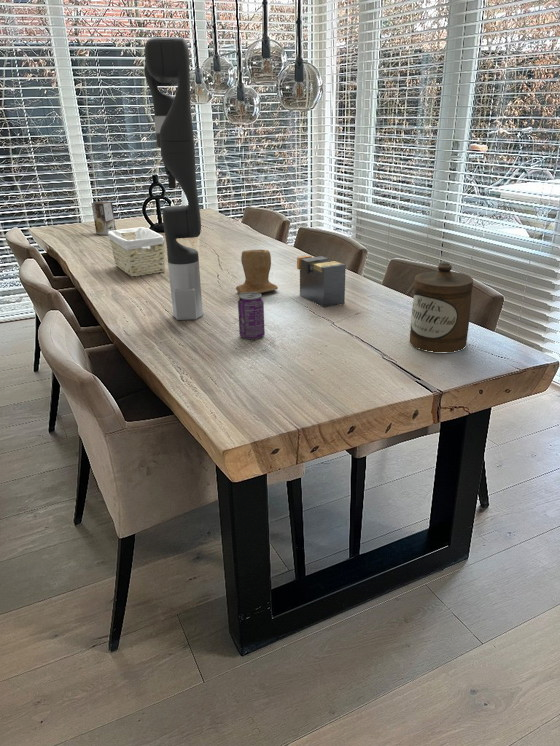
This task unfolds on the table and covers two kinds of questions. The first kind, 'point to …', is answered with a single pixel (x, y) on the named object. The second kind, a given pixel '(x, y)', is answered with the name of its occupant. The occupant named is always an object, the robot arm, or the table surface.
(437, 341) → the wooden container
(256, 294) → the beverage can
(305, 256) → the sliding latch bolt
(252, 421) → the table surface
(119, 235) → the storage basket
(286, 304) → the table surface
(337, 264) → the latch bracket
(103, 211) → the coffee box
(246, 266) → the stone cup
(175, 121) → the robot arm
